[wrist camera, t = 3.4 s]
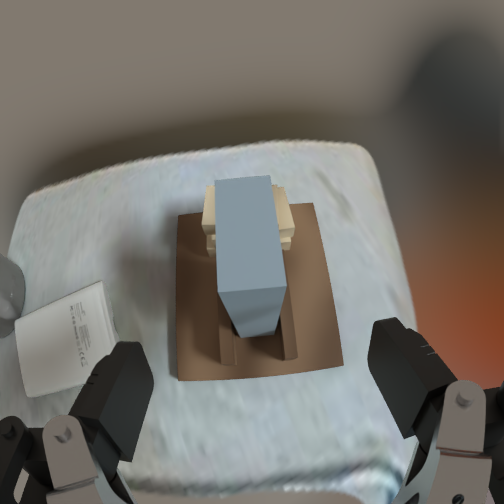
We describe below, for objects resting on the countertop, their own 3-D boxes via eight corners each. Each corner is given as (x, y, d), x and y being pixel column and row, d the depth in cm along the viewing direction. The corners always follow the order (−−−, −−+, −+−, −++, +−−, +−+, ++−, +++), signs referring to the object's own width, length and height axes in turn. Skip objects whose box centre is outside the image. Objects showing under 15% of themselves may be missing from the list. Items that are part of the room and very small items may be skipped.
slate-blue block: (240, 337, 20) (217, 292, 10) (236, 273, 22) (214, 180, 12) (274, 334, 20) (286, 286, 10) (266, 270, 22) (270, 175, 12)
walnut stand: (181, 380, 19) (167, 380, 16) (181, 221, 25) (170, 198, 22) (340, 366, 19) (354, 363, 16) (311, 209, 25) (317, 185, 22)
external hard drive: (23, 323, 22) (109, 284, 23) (36, 398, 18) (131, 371, 20) (13, 319, 20) (100, 278, 22) (26, 397, 17) (122, 369, 18)
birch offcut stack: (209, 258, 22) (199, 231, 19) (209, 213, 24) (200, 183, 20) (292, 250, 22) (298, 222, 19) (284, 206, 24) (288, 174, 21)
